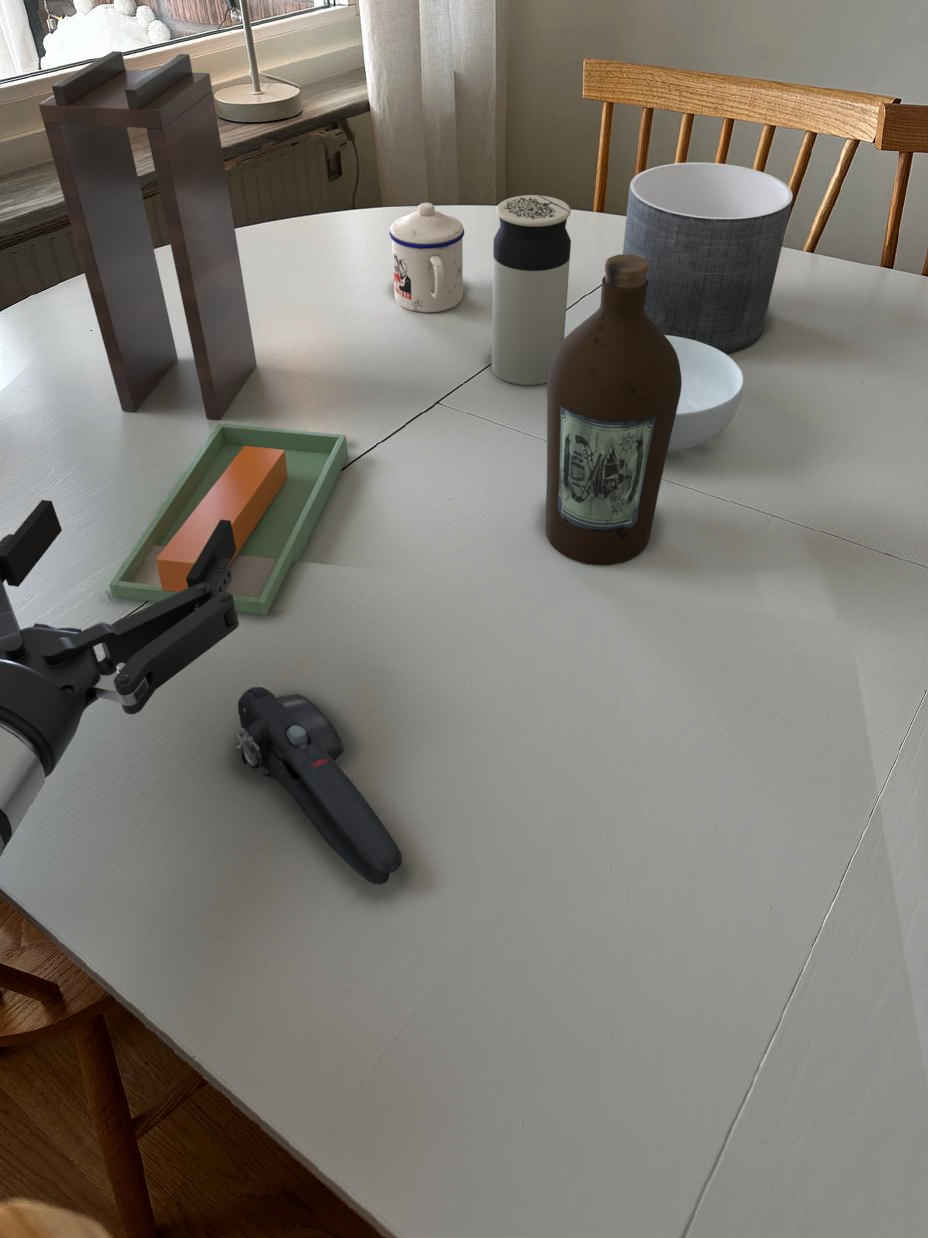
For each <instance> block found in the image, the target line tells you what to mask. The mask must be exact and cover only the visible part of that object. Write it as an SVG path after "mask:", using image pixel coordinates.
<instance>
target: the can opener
mask: <svg viewBox="0 0 928 1238" xmlns="http://www.w3.org/2000/svg"><path fill="white" fill-rule="evenodd" d="M237 709H238V710H237V712H238V715H239V724H240V727H241V728H240V730H241V732H242V733H238V732H235V733H234V736H235V738H236V741H237V743H238V744H237V745H236V749H241V753H240V754H241V761H242V762H243V764H244V765H247V764H248V765H249V766H250V767H252V768H253V769H258V768H259V767H262V766H263V767H264V768H265V769H266V771H267V772H268V773H264V772H263V773H262V774H261V775H262V776H263V777H266V778H270V779H273V780H275V781H277V782H278V783H279V784H280V785H281V786H283V787H284V788H285V789H286V790H287V791H288V793H290V795H291V796H292V797H293V798H294V799H295V801H296V802H297V803H298V805H299V806H300V808H301V809H302V810H303V812H304V813H305V815H306V816H307V818H308V819H309V821H310V822H311V824H312V825H313V826H314V827H315V829H316V830H317V831H318V833H319V834H320V835H321V837H322V839H323V840H324V841H325V842H326V843H327V845H328V846H329V847H330V848H331V849H332V850H333V851H334V852H335V853H336V854H337V855H338V856H339V857H340V858H341V859H342V860H343V861H344V862H345V863H346V864H347V865H348V866H350V867H351V868H352V869H353V870H354V872H356V873H357V874H358V875H360V876H361V877H362V878H363V879H364V880H366V881H367V882H368V883H370V884H373V885H378V886H380V885H383V884H385V883H388V880H389V879H390V877H391V876H390V875H391V874H392V873H395V872H397V871H398V870H399V868H401V866H402V864H403V855H402V852H401V849H400V848H399V846H398V844H397V843H396V842H395V840H394V839H393V837H392V836H391V834H390V832H389V831H388V829H387V828H386V826H385V825H384V824H383V822H382V820H381V819H380V818H379V816H378V815H377V813H376V811H374V809H373V808H372V807H371V805H370V804H369V802H368V801H367V799H366V798H365V796H363V794H362V793H361V792H360V791H359V789H358V788H357V787H356V785H355V784H354V783H353V781H352V780H351V778H350V777H348V775H347V774H346V772H344V770H343V769H342V768H341V767H340V766H339V765H338V763H337V762H336V760H337V759H339V757H340V756H341V755H342V754H343V753H344V751H345V748H344V745H343V742H342V740H341V738H340V736H339V734H338V732H337V730H336V729H335V727H334V725H333V724H332V723H331V721H330V720H329V719H328V717H327V716H326V715H325V714H324V712H323V711H321V709H320V708H319V707H318V706H317V705H316V704H314V703H313V702H312V701H311V700H309V699H308V698H307V697H306V696H303V695H301V694H299V693H294V694H290V695H284V696H278V697H277V696H275V695H274V693H272V692H271V691H270V690H269V689H267V688H265V687H263V686H259V687H258V686H254V687H250V688H249V689H246V690H245V692H243V694H242V695H241V696H240V697H239V700H238V702H237Z"/></svg>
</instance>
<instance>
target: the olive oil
mask: <svg viewBox="0 0 928 1238" xmlns="http://www.w3.org/2000/svg"><path fill="white" fill-rule="evenodd" d="M648 268H649V263H648V262H647V261H646V260H645V259H643V258H641V257H639V256H635V255H628V254H623V253H622V254H616V255H612V256H610V257H608V258H607V259H606V260H605V263H604V273H605V275H604V276H603V277H602V279H601V291H600V292H601V293H600V305H599V307H598V309H597V310H596V311H595V312H593V313H592V314H591V315H590V316H589V317H588V318H587V319H585V320H584V321H582V322H581V323H580V324H579V325H578V326H576V327H575V328H574V329H573V330H571V332H569V333H568V335H566V336H564V340H563V341H562V342H561V344H560V345H559V347H558V349H557V350H556V353H555V355H554V357H553V360H552V362H551V365H550V368H549V373H548V379H547V382H546V493H545V495H546V496H545V523H544V524H545V525H544V526H545V528H544V529H545V530H544V531H545V535H546V538H547V541H548V543H549V544H550V545H551V547H552V548H553V549H555V551H556V552H558V553H559V554H561V555H562V556H564V557H565V558H568V559H570V560H572V561H574V562H578V563H581V564H585V563H586V565H591V564H592V566H613V565H619V564H622V563H625V561H626V562H628V561H631V560H633V559H635V558H636V557H638V556H639V555H641V554H642V553H643V552H644V551H645V549H646V548H647V546H648V545H649V542H650V538H651V534H652V528H653V524H654V519H655V518H654V517H655V513H656V508H657V504H658V503H657V502H658V498H659V493H660V487H661V483H662V478H663V473H664V469H665V465H666V460H667V455H668V452H667V451H668V447H669V442H670V438H671V433H672V429H673V425H674V420H675V416H676V412H677V407H678V403H679V399H680V394H681V385H682V379H681V370H680V364H679V360H678V356H677V354H676V351H675V349H674V348H673V346H672V344H671V343H670V341H669V340H668V339H667V338H666V336H665V335H664V334H663V333H662V332H661V331H660V329H659V328H658V327H657V326H656V325H655V324H654V323H653V321H652V320H651V319H650V318H649V317H648V315H647V314H646V312H645V310H644V307H645V301H646V295H647V288H648V280H647V279H646V275H647V274H648ZM618 563H619V564H618Z"/></svg>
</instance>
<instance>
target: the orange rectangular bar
mask: <svg viewBox="0 0 928 1238" xmlns="http://www.w3.org/2000/svg"><path fill="white" fill-rule="evenodd" d="M287 478H288V476H287V466H286V457H285V450H282V449H271V448H261V447H251V446H244V447H243V449H242V450H241V451H240V453H239V454H238V455H237V456H236V458H235V459H234V460H233V462H232V463H231V464H230V465H229V467H228V468H227V469H226V470H225V472H224V473H223V474H222V476H221V477H220V478H219V479H218V481H217V482H216V483H215V485H214V486H213V487H212V488H211V490H210V491H209V492H208V493H207V495H206V496H205V497H204V499H203V500H202V501H201V502H200V504H199V505H198V506H197V508H196V509H195V510H194V511H193V513H192V514H191V515H190V516H189V518H188V519H187V520H186V522H185V523H184V524H183V525H182V527H181V528H180V529H179V531H178V532H177V533H176V534H175V536H174V537H173V538H172V539H171V541H170V542H169V543H168V545H167V546H166V547H164V548H163V549H162V551H161V552H160V554H159V555H158V556H157V557H156V559H155V561H156V566H157V572H158V575H159V580H160V586H162V590H166V591H175V592H181V591H183V590H185V589H187V588H188V584H187V580H186V577H187V575H188V574H189V572H190V570H191V569H192V567H193V565H194V563H195V562H196V560H197V558H198V557H199V555H200V553H201V552H202V550H203V548H204V546H205V545H206V543H207V541H208V540H209V538H210V536H211V535H212V533H213V531H214V529H215V528H216V526H217V524H218V523H219V521H220V519H222V520H230V521H231V525H232V530H233V535H234V540H235V545H236V552H235V554H234V556H233V557H232V559H231V561H230V563H229V564H230V565H231V563H232V562H233V560H234V559H235V557H236V556H237V555H236V554H237V553H238V551H239V550H240V548H241V547H242V545H243V544H244V542H245V541H246V539H247V538H248V536H249V535H250V533H251V532H252V530H253V529H254V527H255V526H256V524H257V523H258V521H259V520H260V518H261V517H262V515H263V514H264V512H265V511H266V509H267V508H268V506H269V505H270V503H271V502H272V500H273V499H274V497H275V496H276V494H277V493H278V491H279V490H280V488H281V487H282V485H283V484H284V482H285V481H286V479H287Z"/></svg>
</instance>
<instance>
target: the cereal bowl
mask: <svg viewBox="0 0 928 1238" xmlns="http://www.w3.org/2000/svg"><path fill="white" fill-rule="evenodd" d="M665 336H666V338H667V339H668V340H669V341H670V343H671V344H672V346H673V348H674V349H675V351H676V354H677V356H678V360H679V364H680V370H681V379H682V385H681V394H680V399H679V403H678V407H677V412H676V416H675V420H674V425H673V429H672V433H671V438H670V442H669V447H668V451H667V453H671V452H677V451H685V450H689V449H692V448H694V447H698V446H700V445H702V444H704V443H707V442H709V441H710V440H711V439H713V438H715V437H716V436H718V435H719V434H720V433H721V432H723V431H724V430H725V428H727V427H728V426H729V424H730V423H731V422H732V420H733V418H734V417H735V415H736V412H737V411H738V408H739V405H740V403H741V398H742V396H743V391H744V387H745V377H744V373H743V371H742V369H741V367H740V365H738V363H737V362H736V361H735V360H734V359H733V358H731V356H730V355H728V354H727V353H723V352H721V351H720V350H718V349H716V348H714V347H711V346H709V345H706V344H704V343H701V342H698V341H695V340H691V339H686V338H682V337H676V336H669V335H665Z"/></svg>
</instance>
